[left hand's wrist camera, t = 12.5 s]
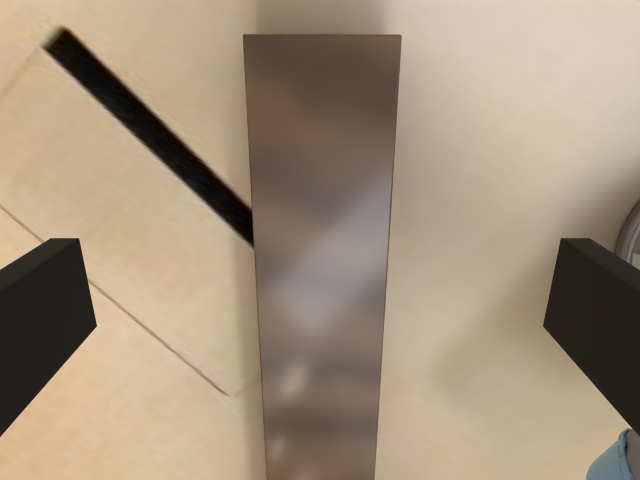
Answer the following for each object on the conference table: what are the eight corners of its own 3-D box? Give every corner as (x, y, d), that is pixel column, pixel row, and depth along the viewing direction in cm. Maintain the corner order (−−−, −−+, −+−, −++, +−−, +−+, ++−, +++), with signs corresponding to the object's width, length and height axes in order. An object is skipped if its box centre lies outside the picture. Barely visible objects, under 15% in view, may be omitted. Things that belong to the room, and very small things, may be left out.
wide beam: (257, 40, 33) (242, 34, 27) (386, 41, 33) (402, 34, 27) (284, 659, 60) (280, 726, 54) (355, 659, 60) (359, 726, 54)
